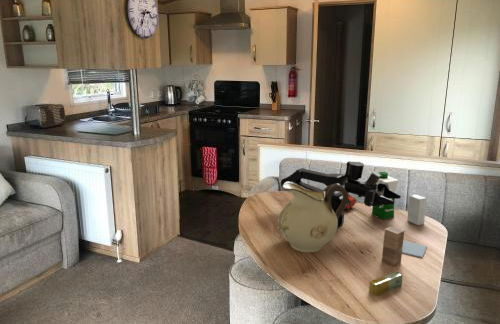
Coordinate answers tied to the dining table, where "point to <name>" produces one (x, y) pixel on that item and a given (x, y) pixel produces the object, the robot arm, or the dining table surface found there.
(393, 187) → the milk carton
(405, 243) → the slate-blue rubber mat
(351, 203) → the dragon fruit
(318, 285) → the dining table surface
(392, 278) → the medication box
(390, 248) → the wooden block
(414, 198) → the skincare box
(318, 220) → the pitcher
